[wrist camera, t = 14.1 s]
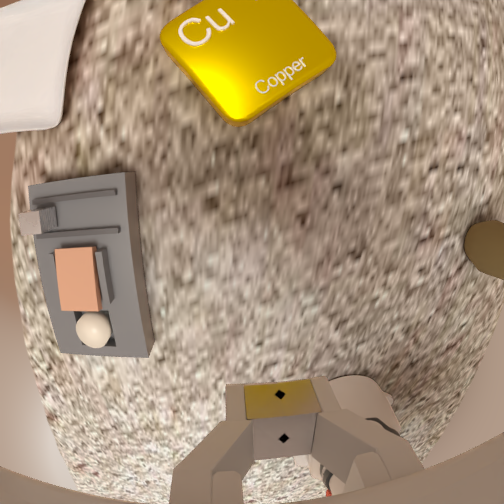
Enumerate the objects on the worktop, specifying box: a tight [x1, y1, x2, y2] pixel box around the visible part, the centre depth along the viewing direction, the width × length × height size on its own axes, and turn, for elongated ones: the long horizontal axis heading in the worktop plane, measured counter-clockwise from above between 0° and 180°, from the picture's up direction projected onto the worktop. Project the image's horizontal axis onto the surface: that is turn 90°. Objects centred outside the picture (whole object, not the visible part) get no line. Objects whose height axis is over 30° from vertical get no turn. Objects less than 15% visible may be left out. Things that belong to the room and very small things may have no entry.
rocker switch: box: [55, 246, 102, 311], centre depth 31 cm, size 7×5×1 cm
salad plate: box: [0, 0, 86, 134], centre depth 27 cm, size 21×21×3 cm
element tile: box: [160, 0, 336, 127], centre depth 30 cm, size 15×15×5 cm
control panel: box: [28, 172, 155, 358], centre depth 34 cm, size 22×13×6 cm, turn 1°
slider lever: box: [19, 206, 57, 236], centre depth 29 cm, size 2×3×4 cm
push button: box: [76, 310, 113, 348], centre depth 35 cm, size 4×4×3 cm
